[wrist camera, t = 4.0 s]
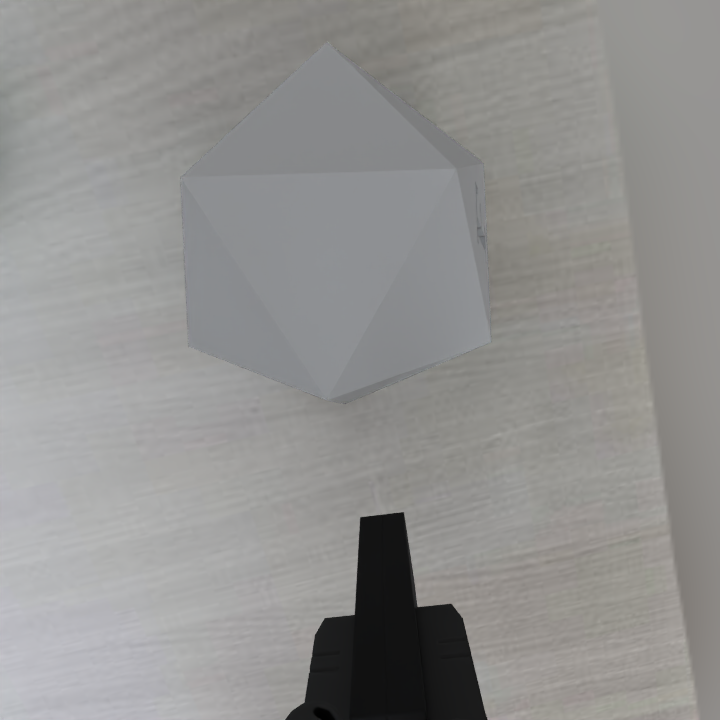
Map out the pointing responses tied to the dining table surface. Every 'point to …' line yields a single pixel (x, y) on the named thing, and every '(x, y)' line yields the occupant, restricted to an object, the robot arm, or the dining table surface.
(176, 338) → the dining table surface
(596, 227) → the dining table surface
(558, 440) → the dining table surface
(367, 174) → the die
